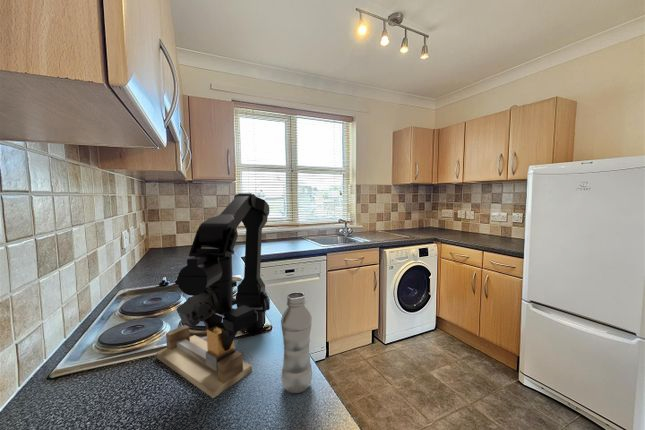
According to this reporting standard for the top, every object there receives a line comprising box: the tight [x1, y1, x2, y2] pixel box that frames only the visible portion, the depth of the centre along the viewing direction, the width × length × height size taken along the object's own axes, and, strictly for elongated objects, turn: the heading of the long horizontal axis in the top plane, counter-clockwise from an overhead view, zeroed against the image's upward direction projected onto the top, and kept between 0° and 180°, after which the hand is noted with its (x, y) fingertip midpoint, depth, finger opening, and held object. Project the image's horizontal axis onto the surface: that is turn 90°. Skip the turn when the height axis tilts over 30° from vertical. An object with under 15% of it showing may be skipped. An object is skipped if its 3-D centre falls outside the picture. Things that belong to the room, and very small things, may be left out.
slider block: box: [206, 325, 237, 372], centre depth 59 cm, size 5×4×8 cm
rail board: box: [156, 324, 253, 399], centre depth 64 cm, size 10×24×6 cm, turn 56°
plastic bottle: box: [280, 291, 313, 394], centre depth 56 cm, size 6×7×20 cm
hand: (221, 346), depth 59 cm, fingers open, 4 cm apart
